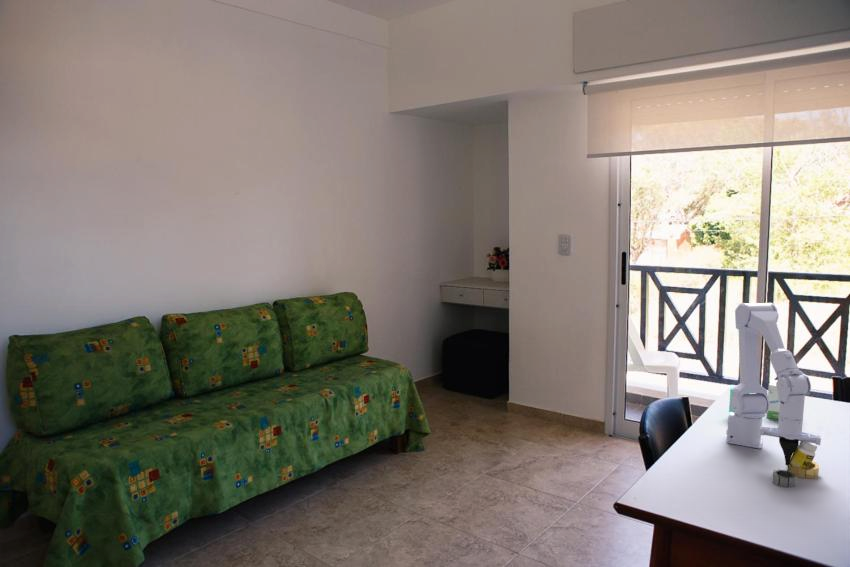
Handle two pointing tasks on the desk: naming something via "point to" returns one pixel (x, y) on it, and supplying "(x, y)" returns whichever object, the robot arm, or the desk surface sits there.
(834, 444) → the desk surface
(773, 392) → the ink box
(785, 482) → the small steel collar
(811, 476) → the wide wooden arch
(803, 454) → the supplement bottle
